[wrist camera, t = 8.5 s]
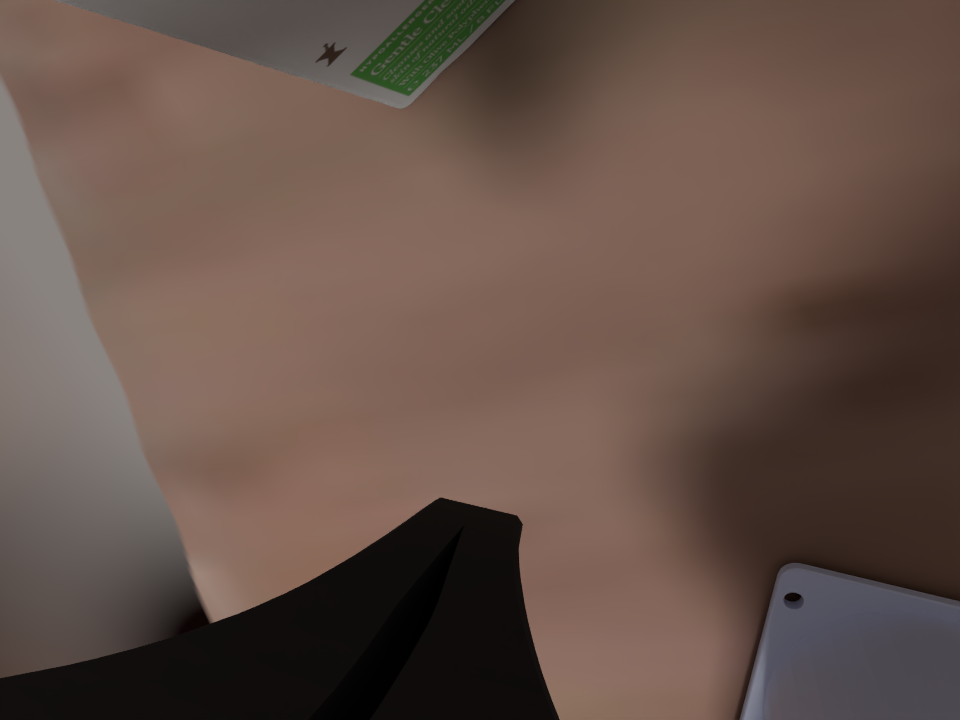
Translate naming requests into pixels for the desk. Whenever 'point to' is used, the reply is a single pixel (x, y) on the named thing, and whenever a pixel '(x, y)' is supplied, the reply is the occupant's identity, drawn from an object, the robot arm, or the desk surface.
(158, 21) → the skincare box
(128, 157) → the desk surface
